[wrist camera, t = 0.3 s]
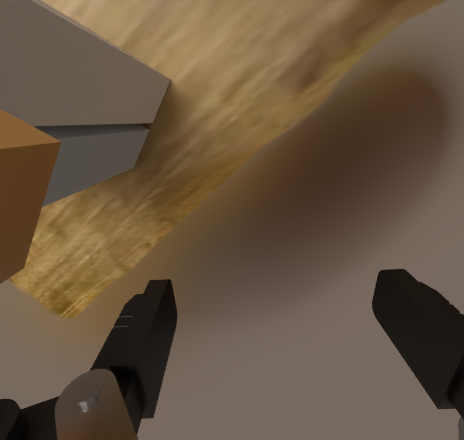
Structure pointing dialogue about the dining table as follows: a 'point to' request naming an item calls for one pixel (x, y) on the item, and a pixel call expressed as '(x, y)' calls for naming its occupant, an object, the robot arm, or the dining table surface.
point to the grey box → (91, 155)
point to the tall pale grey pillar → (70, 72)
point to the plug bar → (21, 187)
